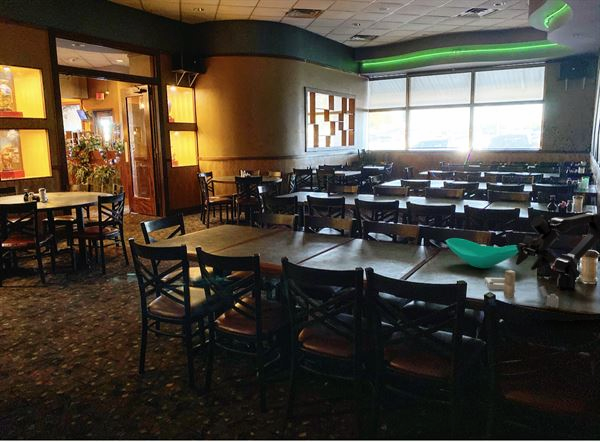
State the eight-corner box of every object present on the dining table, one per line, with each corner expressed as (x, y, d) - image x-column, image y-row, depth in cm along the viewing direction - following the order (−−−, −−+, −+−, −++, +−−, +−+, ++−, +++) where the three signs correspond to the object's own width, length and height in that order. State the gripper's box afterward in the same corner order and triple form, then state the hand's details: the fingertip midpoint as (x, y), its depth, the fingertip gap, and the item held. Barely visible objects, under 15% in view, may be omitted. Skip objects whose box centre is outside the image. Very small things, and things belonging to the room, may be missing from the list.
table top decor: (436, 266, 260) (436, 243, 258) (456, 256, 281) (457, 235, 278) (511, 278, 234) (512, 253, 232) (526, 266, 255) (528, 242, 253)
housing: (508, 283, 227) (508, 276, 227) (514, 290, 217) (514, 283, 216) (484, 282, 229) (485, 275, 229) (489, 289, 219) (489, 282, 218)
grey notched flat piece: (558, 306, 194) (559, 288, 193) (557, 308, 193) (558, 289, 191) (539, 303, 199) (540, 285, 197) (538, 304, 198) (539, 286, 196)
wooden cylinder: (509, 294, 211) (510, 270, 209) (514, 296, 208) (515, 271, 206) (503, 295, 210) (504, 270, 208) (508, 297, 207) (509, 272, 205)
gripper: (520, 226, 216) (499, 251, 215) (552, 233, 199) (529, 260, 197) (533, 241, 220) (512, 266, 218) (565, 249, 202) (543, 276, 201)
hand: (523, 267), depth 209 cm, fingers open, 9 cm apart
